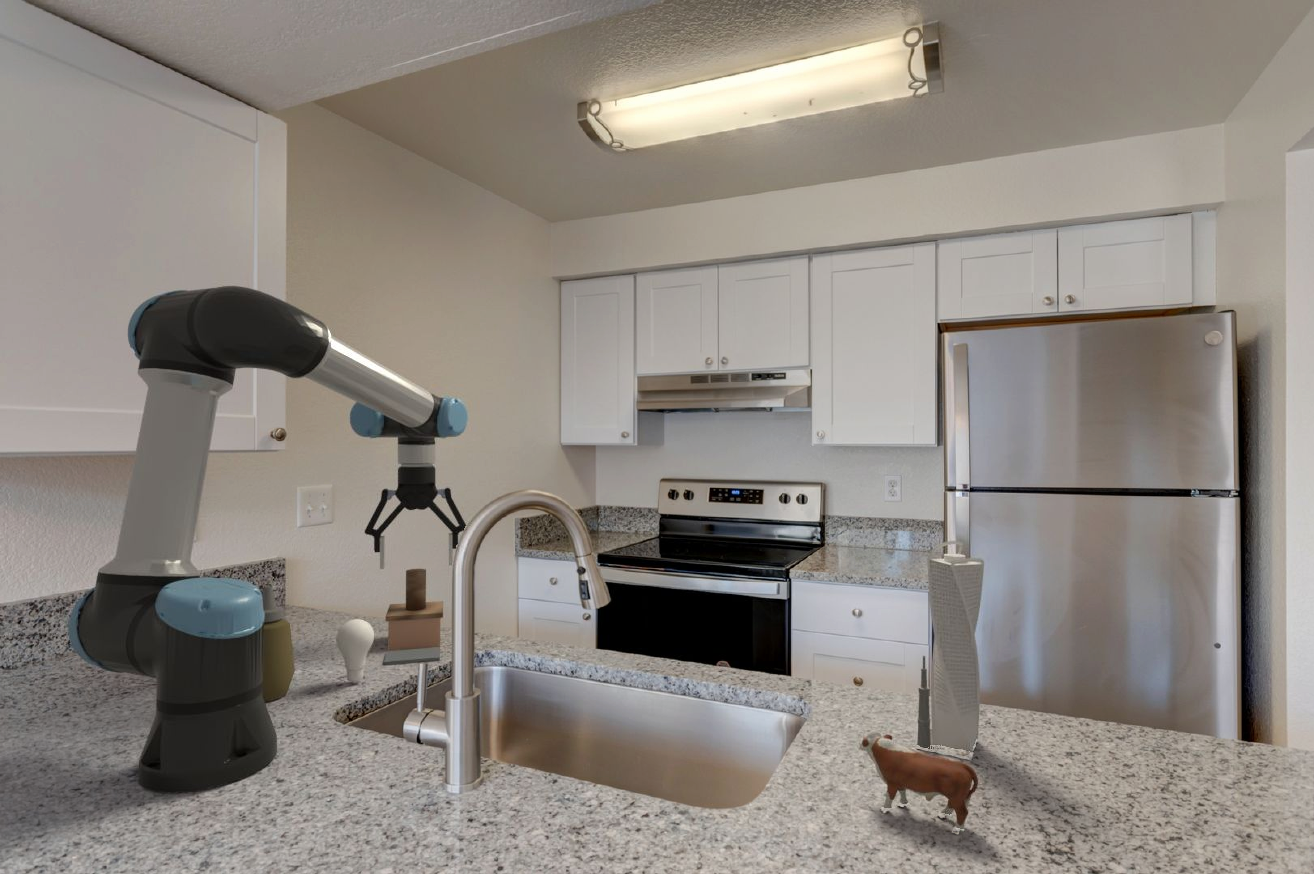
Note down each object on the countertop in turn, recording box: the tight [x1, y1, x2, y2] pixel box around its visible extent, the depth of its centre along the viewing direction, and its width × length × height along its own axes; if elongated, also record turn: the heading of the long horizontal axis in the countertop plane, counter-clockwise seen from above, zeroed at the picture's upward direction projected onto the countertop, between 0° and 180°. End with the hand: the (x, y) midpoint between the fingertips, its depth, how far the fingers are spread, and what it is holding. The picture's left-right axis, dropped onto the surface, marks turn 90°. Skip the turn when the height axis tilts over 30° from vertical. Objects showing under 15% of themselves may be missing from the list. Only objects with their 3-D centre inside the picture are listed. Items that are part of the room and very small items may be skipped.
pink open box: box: [387, 618, 442, 651], centre depth 146 cm, size 10×10×6 cm
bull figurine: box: [859, 729, 979, 830], centre depth 79 cm, size 4×13×8 cm, turn 51°
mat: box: [383, 646, 441, 666], centre depth 136 cm, size 10×7×1 cm
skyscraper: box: [916, 540, 985, 752], centre depth 97 cm, size 8×8×28 cm
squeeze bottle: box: [261, 586, 296, 702], centre depth 114 cm, size 8×8×18 cm
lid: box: [385, 568, 444, 622], centre depth 146 cm, size 11×11×9 cm
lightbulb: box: [335, 618, 375, 684], centre depth 121 cm, size 6×6×11 cm
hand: (417, 566), depth 147 cm, fingers open, 13 cm apart
